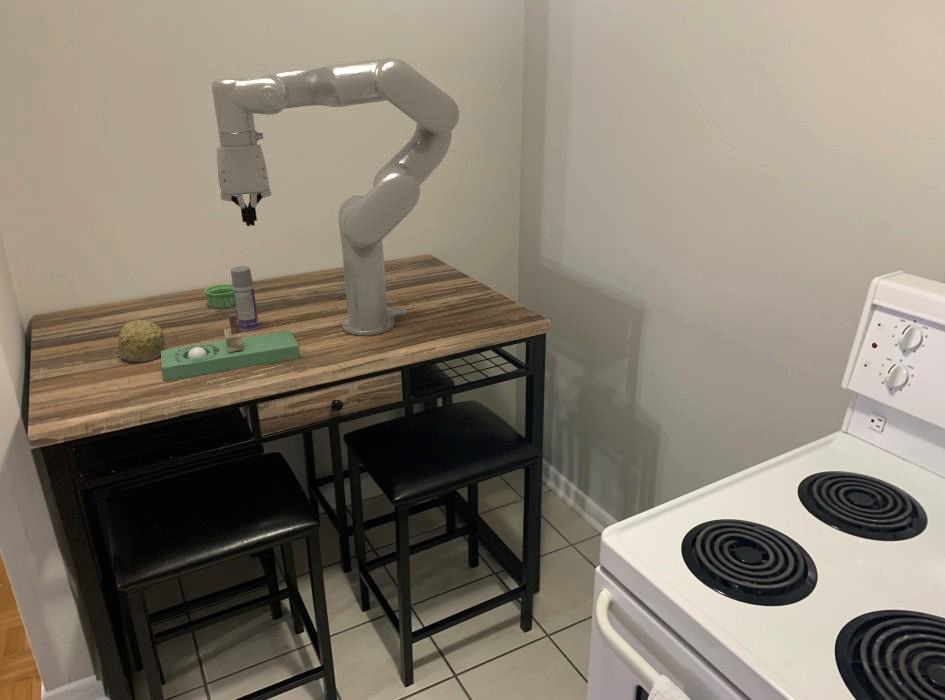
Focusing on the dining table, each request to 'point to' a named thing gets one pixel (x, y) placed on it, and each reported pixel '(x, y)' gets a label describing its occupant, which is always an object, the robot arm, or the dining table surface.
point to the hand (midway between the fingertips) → (250, 224)
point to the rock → (140, 341)
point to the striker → (233, 334)
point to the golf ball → (196, 353)
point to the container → (244, 298)
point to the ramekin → (220, 296)
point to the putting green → (229, 355)
